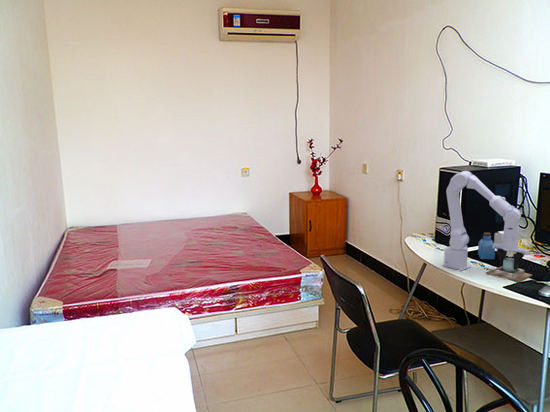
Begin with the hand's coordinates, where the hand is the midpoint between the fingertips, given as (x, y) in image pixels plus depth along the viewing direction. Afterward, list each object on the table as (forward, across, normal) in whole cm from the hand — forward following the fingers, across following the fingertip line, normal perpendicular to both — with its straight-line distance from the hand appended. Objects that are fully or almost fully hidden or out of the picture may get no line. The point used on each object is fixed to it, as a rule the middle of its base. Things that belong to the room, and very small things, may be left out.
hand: (509, 267), depth 188 cm
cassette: (+4, -19, +34) cm, 39 cm away
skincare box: (+3, -14, +24) cm, 28 cm away
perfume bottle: (+4, -19, +16) cm, 25 cm away
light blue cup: (+1, 0, 0) cm, 1 cm away
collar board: (+3, 0, 0) cm, 3 cm away
